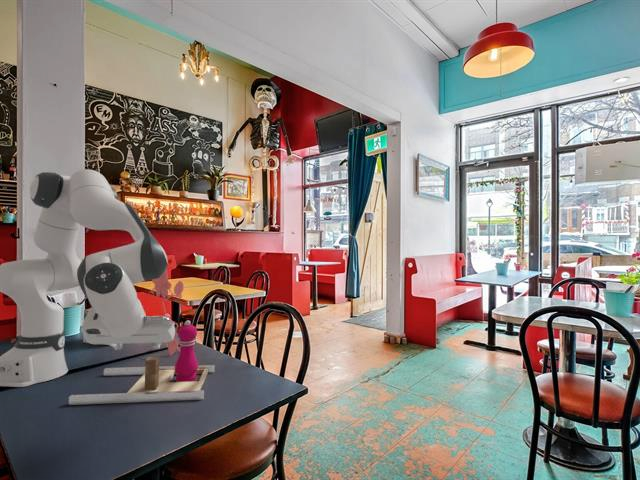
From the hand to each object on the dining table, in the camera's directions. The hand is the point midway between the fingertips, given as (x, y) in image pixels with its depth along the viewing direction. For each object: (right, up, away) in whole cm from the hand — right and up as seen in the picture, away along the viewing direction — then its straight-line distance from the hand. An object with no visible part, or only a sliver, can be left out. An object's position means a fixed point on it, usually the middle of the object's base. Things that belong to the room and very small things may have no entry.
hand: (138, 346), depth 91 cm
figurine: (-17, -18, +47) cm, 53 cm away
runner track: (-5, -18, +17) cm, 26 cm away
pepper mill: (+4, -18, +22) cm, 29 cm away
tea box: (-48, -17, +62) cm, 80 cm away
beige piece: (+1, -18, +18) cm, 25 cm away
